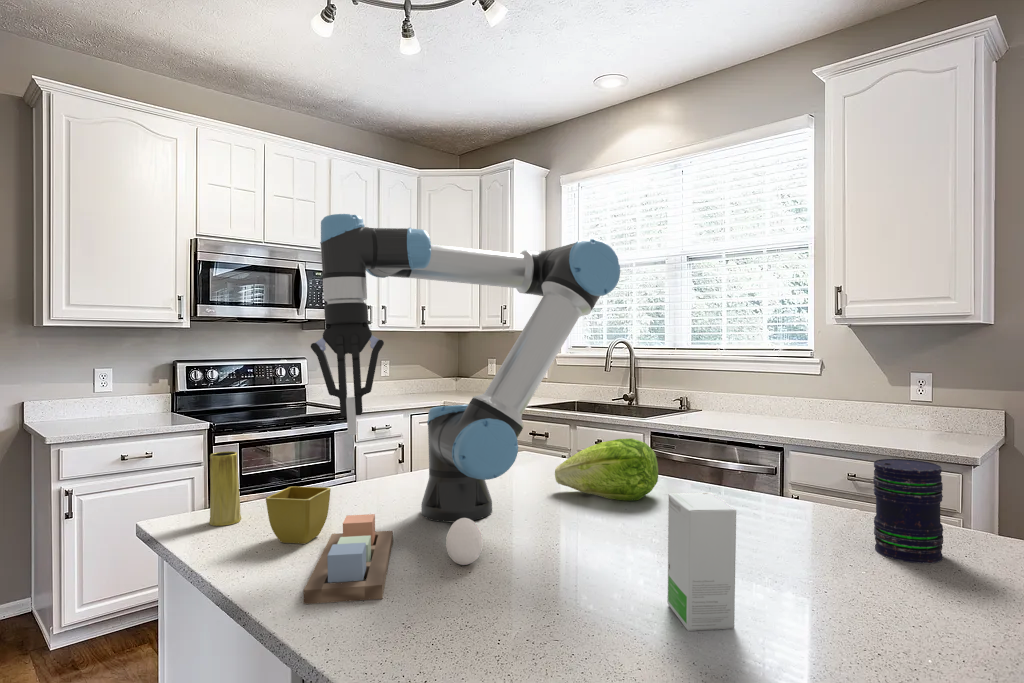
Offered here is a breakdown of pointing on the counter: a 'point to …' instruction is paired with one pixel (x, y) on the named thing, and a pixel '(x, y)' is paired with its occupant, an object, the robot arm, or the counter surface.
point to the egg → (464, 541)
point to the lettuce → (611, 470)
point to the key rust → (359, 526)
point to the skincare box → (701, 560)
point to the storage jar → (908, 510)
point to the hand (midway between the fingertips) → (352, 433)
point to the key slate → (346, 562)
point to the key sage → (359, 540)
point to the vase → (224, 489)
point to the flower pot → (298, 513)
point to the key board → (351, 591)
